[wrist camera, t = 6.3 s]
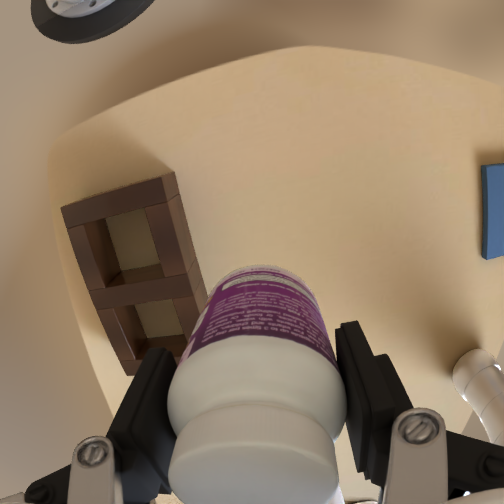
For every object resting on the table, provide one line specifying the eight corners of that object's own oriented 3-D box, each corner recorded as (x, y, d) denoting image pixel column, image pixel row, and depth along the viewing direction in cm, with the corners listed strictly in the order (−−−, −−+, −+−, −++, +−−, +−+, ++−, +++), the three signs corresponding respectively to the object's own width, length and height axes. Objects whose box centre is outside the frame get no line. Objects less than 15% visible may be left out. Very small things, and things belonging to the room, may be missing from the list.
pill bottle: (191, 273, 15) (95, 420, 5) (307, 250, 14) (370, 391, 5) (221, 370, 16) (185, 536, 7) (324, 353, 15) (366, 520, 6)
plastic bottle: (462, 387, 35) (523, 493, 16) (438, 372, 34) (505, 493, 15) (493, 353, 33) (567, 452, 14) (472, 334, 32) (558, 446, 13)
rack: (81, 198, 28) (60, 207, 24) (174, 171, 27) (160, 176, 24) (138, 354, 34) (126, 376, 30) (222, 345, 33) (218, 369, 29)
